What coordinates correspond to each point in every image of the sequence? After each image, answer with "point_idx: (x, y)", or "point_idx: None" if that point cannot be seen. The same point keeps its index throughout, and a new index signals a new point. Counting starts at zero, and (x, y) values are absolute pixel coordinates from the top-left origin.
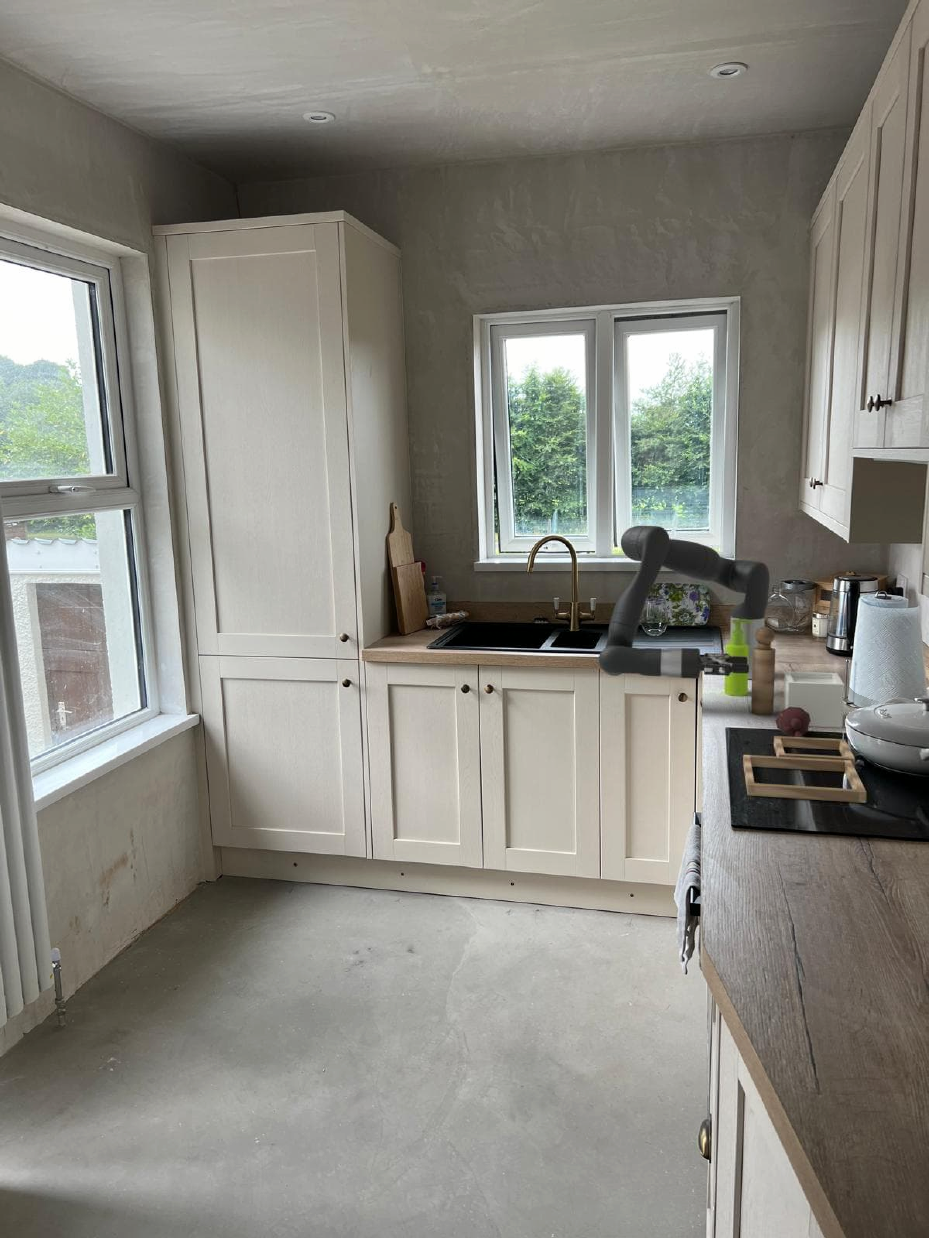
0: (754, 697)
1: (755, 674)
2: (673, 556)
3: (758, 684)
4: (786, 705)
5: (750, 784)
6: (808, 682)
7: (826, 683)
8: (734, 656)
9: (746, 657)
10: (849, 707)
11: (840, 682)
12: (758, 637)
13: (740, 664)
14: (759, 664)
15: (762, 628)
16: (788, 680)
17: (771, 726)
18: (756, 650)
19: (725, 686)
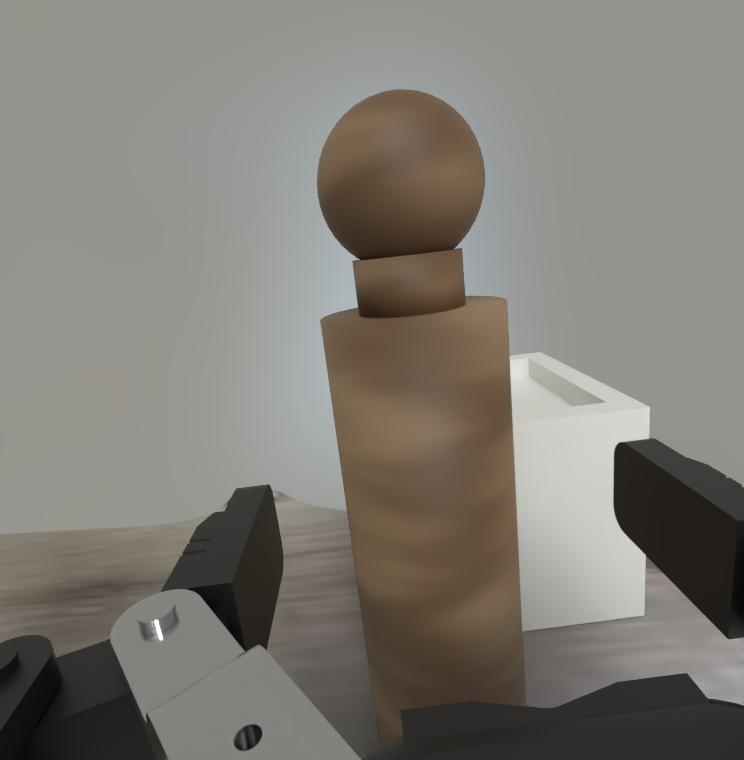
0: (511, 696)
1: (502, 526)
2: None
3: (519, 578)
4: (567, 553)
5: None
6: (580, 383)
7: (555, 365)
8: (208, 563)
9: (268, 485)
10: (283, 499)
11: (512, 357)
12: (473, 175)
13: (702, 469)
14: (510, 423)
15: (426, 94)
16: (596, 412)
17: (739, 676)
18: (494, 308)
19: None
